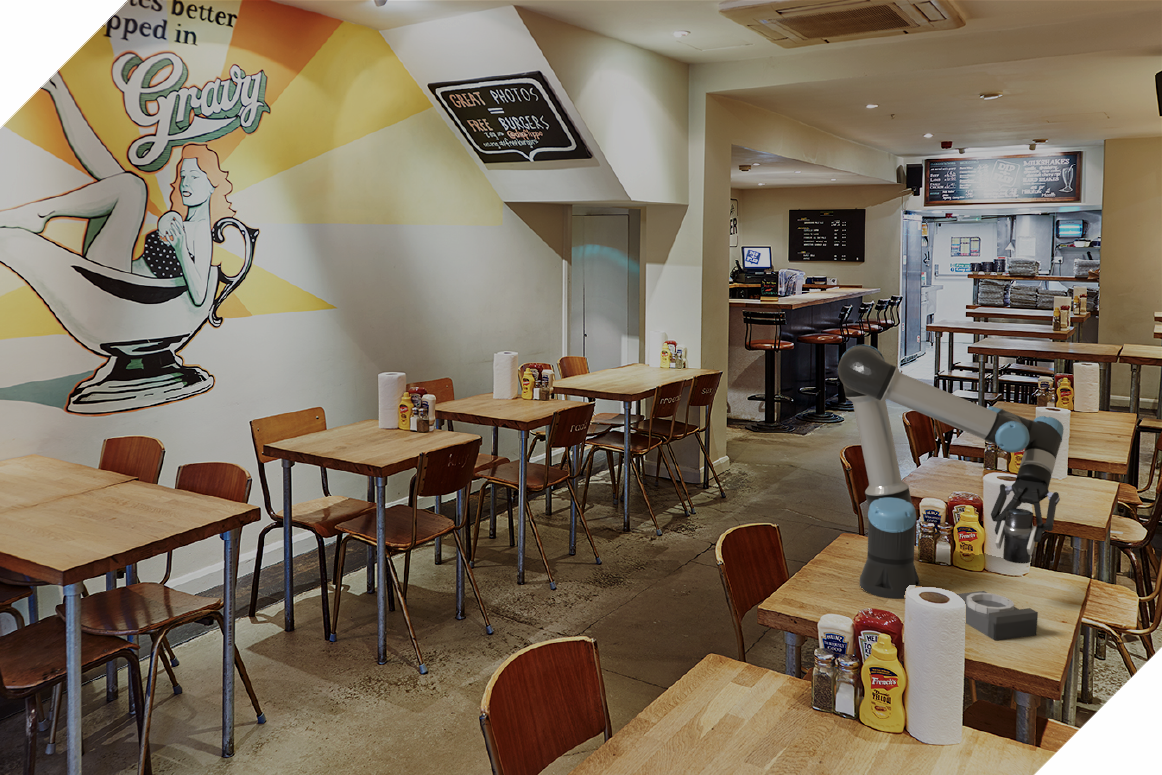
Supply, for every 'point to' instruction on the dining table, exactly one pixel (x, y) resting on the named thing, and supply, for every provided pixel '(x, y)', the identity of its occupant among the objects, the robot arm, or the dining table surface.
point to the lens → (1017, 535)
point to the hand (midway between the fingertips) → (1013, 548)
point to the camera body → (998, 616)
